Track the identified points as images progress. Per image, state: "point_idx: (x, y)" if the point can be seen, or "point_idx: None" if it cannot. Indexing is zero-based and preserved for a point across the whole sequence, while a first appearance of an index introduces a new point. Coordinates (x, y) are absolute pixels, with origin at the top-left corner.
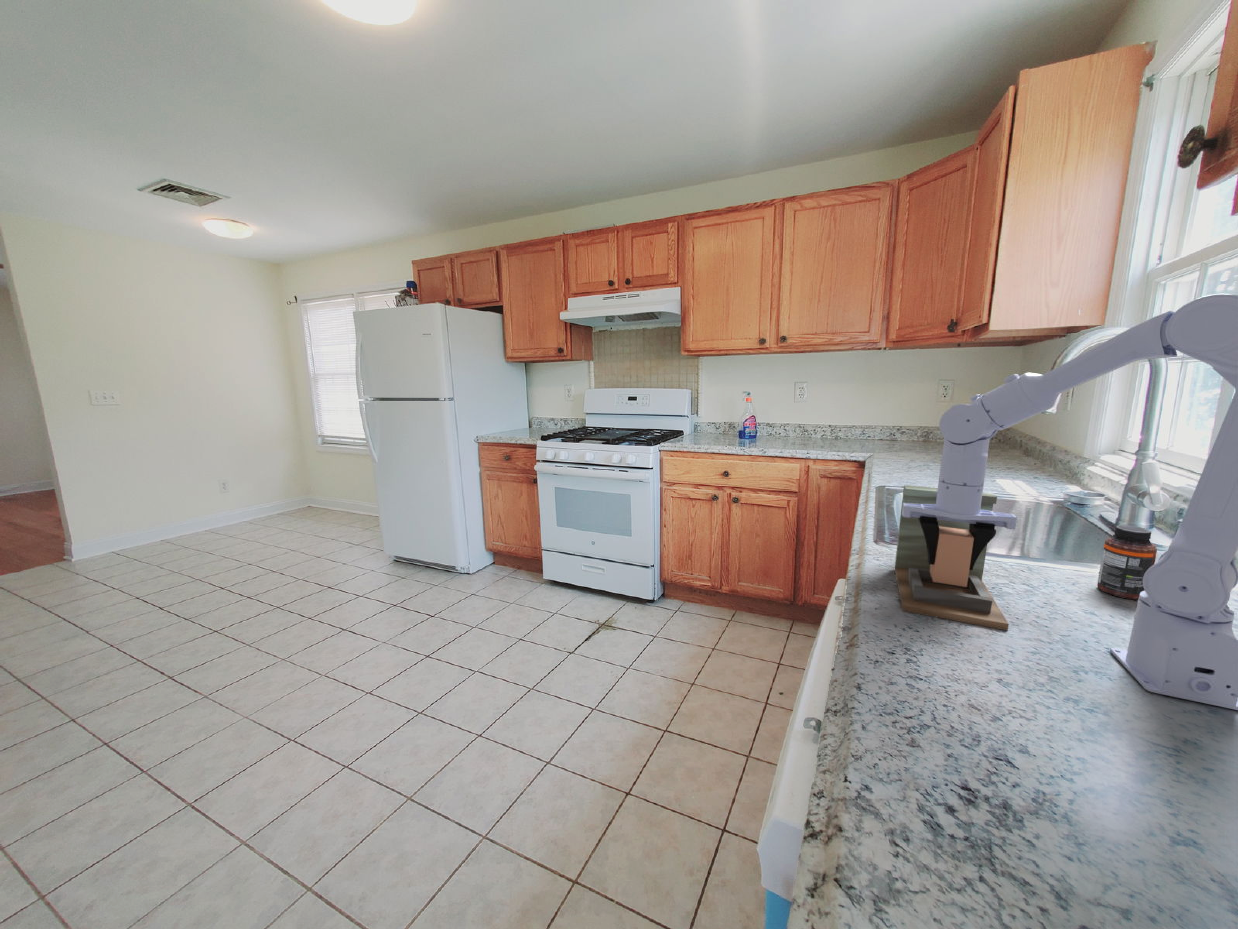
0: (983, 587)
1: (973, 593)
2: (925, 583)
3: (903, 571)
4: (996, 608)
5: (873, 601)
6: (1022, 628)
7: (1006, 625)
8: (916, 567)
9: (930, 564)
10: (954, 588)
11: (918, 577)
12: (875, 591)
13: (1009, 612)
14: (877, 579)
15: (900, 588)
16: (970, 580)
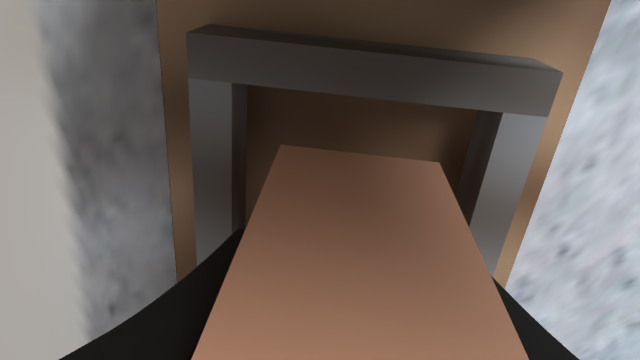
0: (506, 227)
1: (462, 196)
2: (286, 90)
3: None
4: (503, 262)
5: (99, 265)
6: (531, 314)
7: None
8: (228, 40)
9: (272, 165)
10: (412, 108)
11: (223, 201)
12: (94, 180)
13: (565, 212)
14: (83, 34)
15: (172, 192)
16: (495, 122)
